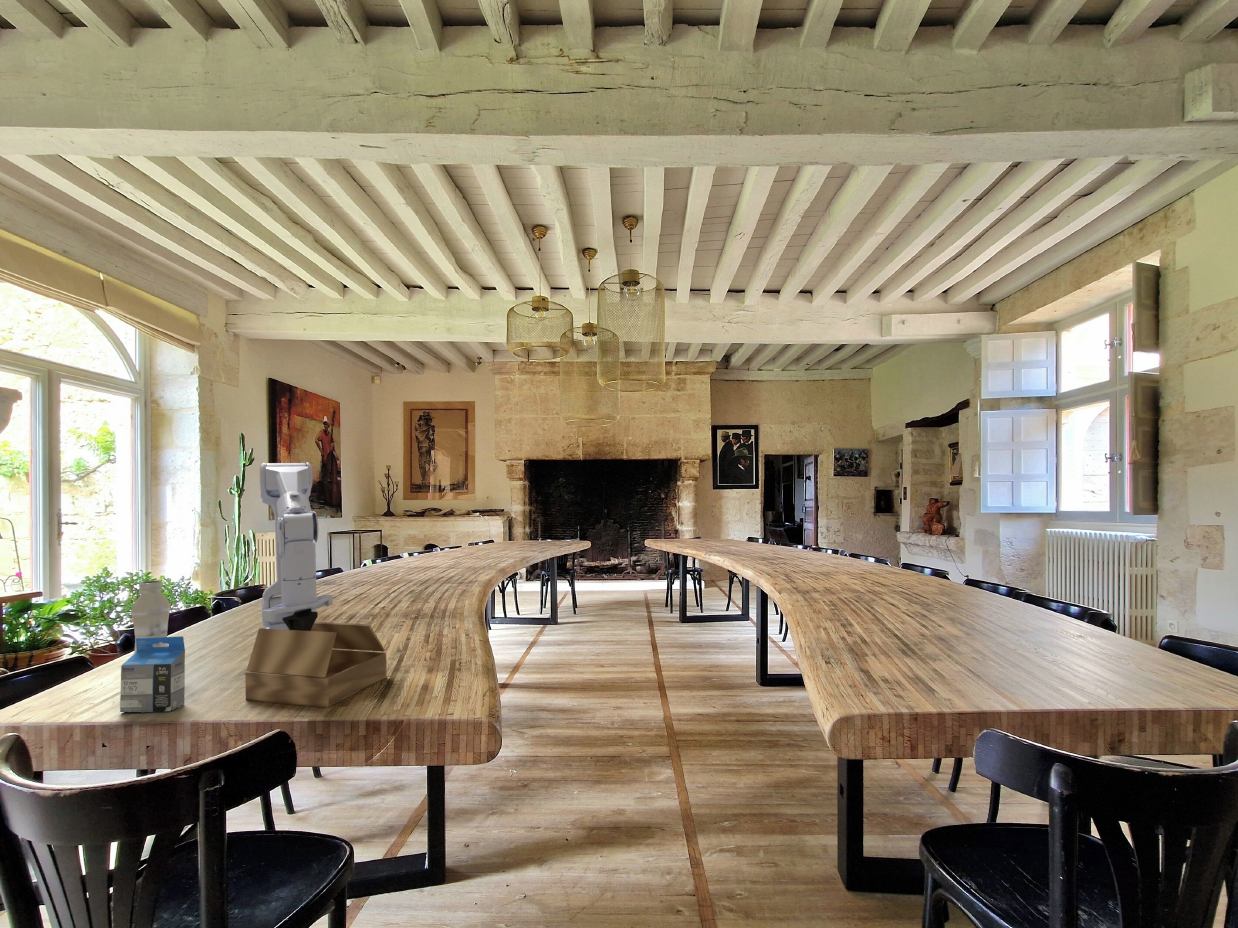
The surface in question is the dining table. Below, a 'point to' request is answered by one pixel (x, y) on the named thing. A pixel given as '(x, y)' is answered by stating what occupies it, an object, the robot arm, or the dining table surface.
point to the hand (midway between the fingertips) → (300, 652)
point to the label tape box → (154, 676)
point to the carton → (320, 681)
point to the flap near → (292, 652)
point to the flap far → (351, 636)
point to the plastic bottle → (151, 612)
